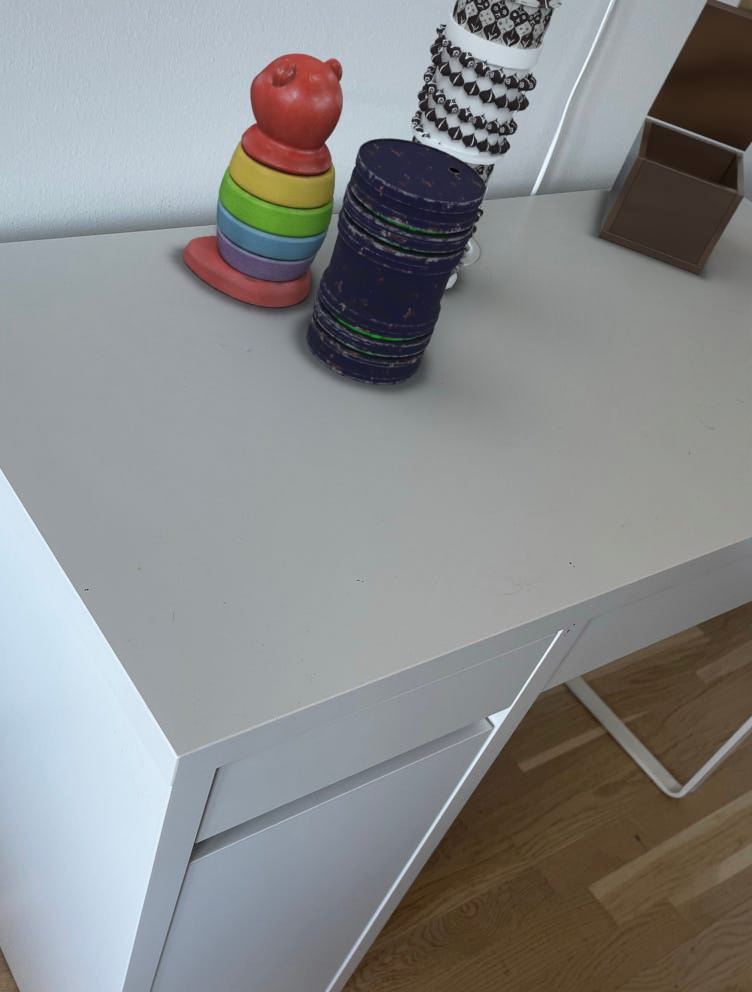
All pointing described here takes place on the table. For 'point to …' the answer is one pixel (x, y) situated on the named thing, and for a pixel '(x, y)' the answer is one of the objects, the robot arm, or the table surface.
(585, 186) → the table surface
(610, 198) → the chest
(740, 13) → the lid
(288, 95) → the stacking bear
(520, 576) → the table surface
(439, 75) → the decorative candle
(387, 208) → the storage jar
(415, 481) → the table surface
